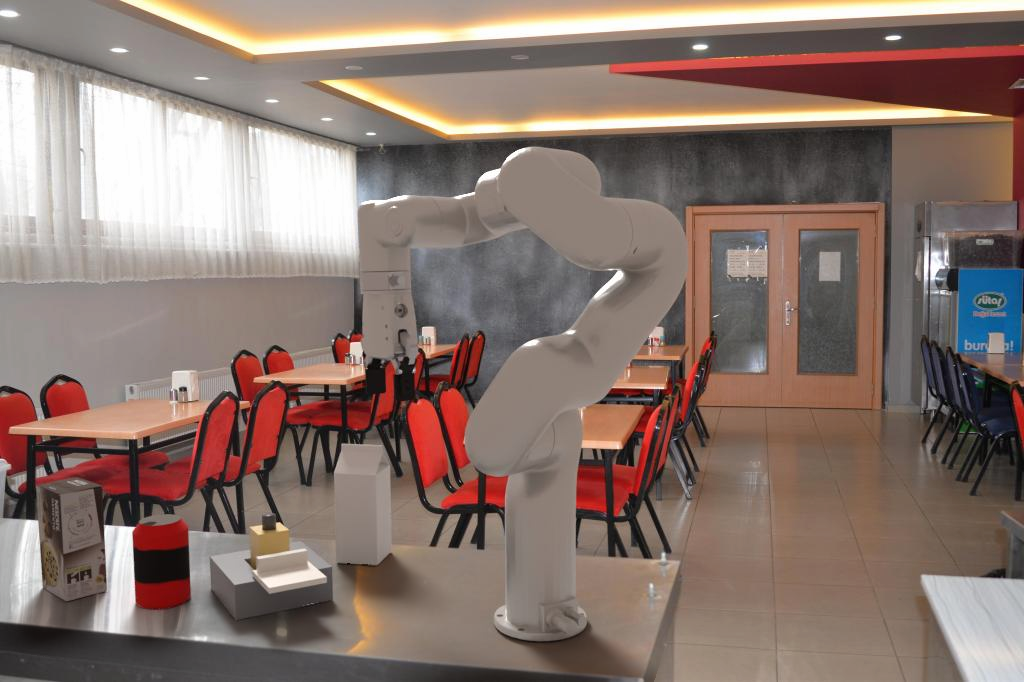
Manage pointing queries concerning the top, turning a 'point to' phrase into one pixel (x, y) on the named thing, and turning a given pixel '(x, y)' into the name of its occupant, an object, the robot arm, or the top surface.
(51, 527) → the coffee box
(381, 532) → the milk carton
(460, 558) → the top surface
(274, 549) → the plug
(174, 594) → the soda can
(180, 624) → the top surface
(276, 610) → the socket housing
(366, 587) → the top surface
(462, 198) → the robot arm
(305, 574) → the plate
